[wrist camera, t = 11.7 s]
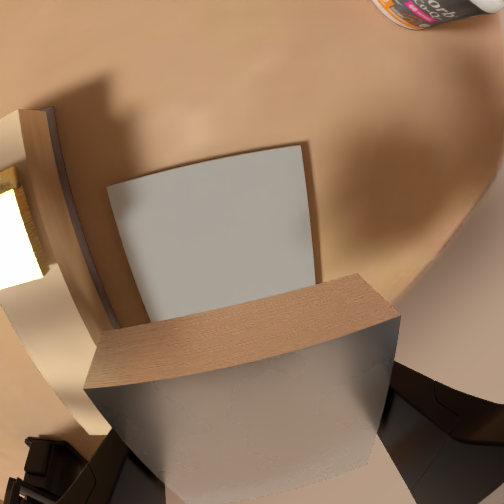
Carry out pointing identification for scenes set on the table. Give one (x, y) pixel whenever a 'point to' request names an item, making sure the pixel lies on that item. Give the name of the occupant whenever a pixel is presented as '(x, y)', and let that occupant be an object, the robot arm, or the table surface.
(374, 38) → the table surface
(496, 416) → the robot arm
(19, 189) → the gold flat block
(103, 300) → the body
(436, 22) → the pill bottle
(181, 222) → the mat
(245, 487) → the cap plate
